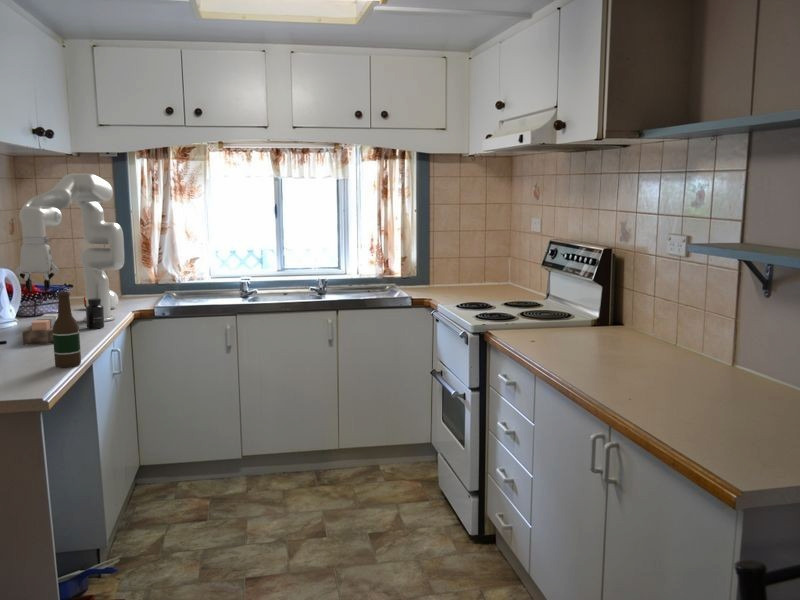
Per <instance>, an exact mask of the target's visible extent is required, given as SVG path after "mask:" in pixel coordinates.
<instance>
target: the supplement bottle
mask: <svg viewBox="0 0 800 600" xmlns="http://www.w3.org/2000/svg"><path fill="white" fill-rule="evenodd" d="M100 303H101V299H99V298H93V299H88V304H89V305H88V306H87V307H85V317H86V321H85V323H86V328H87V329H88V328H89V330H98V329H99V330H100V329H103V328H105V321H104V307H103V306H102V305H100Z"/></svg>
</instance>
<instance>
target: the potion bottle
mask: <svg viewBox="0 0 800 600" xmlns="http://www.w3.org/2000/svg"><path fill="white" fill-rule="evenodd" d="M109 293H110V310H112V309H114V308H116V307H117V306H118V304H119V296H118V294H117V292H115V291H114V290H111V289H109ZM83 304H84V307H85V308H86V307H87V305H86V296H85V297H83Z"/></svg>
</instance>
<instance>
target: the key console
mask: <svg viewBox="0 0 800 600" xmlns="http://www.w3.org/2000/svg"><path fill="white" fill-rule="evenodd" d="M21 332H22V345H23V346H24V345H25V344H28V345H44V344H45V345H47V344H46V343H53V327H50V329H49V330H37V331H32V324H30V326H28V327H26V328H25V329H24V330H22V331H21ZM53 344H54V343H53Z"/></svg>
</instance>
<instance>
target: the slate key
mask: <svg viewBox="0 0 800 600" xmlns="http://www.w3.org/2000/svg"><path fill="white" fill-rule="evenodd" d="M36 320H50V327H53V326H54V323H55V319H54V317H42V316H40V317H38V318H36Z"/></svg>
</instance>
